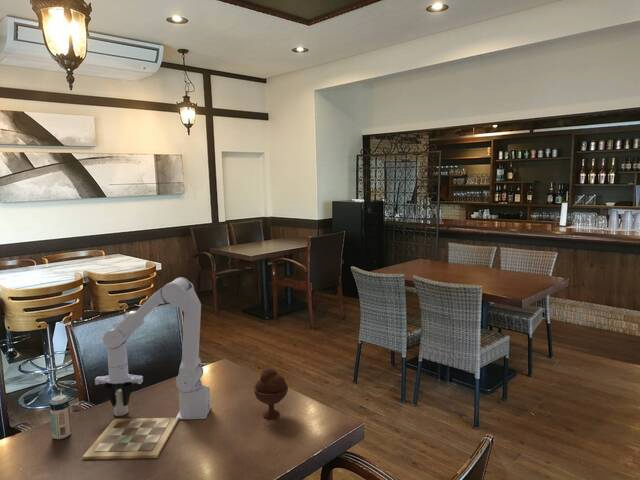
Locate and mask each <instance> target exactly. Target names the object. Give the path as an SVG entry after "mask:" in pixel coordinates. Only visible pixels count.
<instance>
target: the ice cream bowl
mask: <svg viewBox="0 0 640 480" xmlns="http://www.w3.org/2000/svg"><path fill="white" fill-rule="evenodd" d="M253 390H254V394H255V397H256V399H257V400H258V401H259V402H261V403H262V404H265V405H268V409H267V410H265V411H264V412H263V413H262V417H265V418H267V419H266V420H272V419H273V420H275V419H274V418H276V419H278V418H279V417H280V416H281V414H280V412H279V410H276V409H275V405H276V404H279V403H280V402H281V401H282V400H283V399H284V398H285V397H286V395H287V394H288V391H289V386H288V384H287V382H286V380H285V378H284V376H283V375H281V374H278V372H277V371H276V369H274V368H272V367H269V368H265V369H263V370H262V372H261V373H260V376H259V380H257V381H256V382H255V385H253ZM279 415H280V416H279ZM278 416H279V417H278ZM277 417H278V418H277ZM265 418H264V419H265Z"/></svg>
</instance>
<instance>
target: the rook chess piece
mask: <svg viewBox="0 0 640 480" xmlns="http://www.w3.org/2000/svg"><path fill="white" fill-rule="evenodd" d="M114 394H115V395H116V405H115V406H114V408H113V415H114V416H116V417H123V416H125V415H127V414H128V413H129V406H128V405H127V406H124V401H123V393H122V389H121V387H120V388H117V389H116V391H115V393H114Z"/></svg>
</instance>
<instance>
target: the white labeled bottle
mask: <svg viewBox="0 0 640 480" xmlns="http://www.w3.org/2000/svg"><path fill="white" fill-rule="evenodd" d="M49 411H50V412H49V413H50V423H51V434H52V435H51V436H52V438H53V439H55V440H64V439H65V438H68V436H70V435H71V434H72V426H71V425H72V424H71V414H70V402H69V397H68V396H67V395H66V394H62V393H61V394H56V395H55V396H52V397H51V399H50V401H49Z"/></svg>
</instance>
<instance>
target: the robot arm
mask: <svg viewBox="0 0 640 480" xmlns="http://www.w3.org/2000/svg"><path fill="white" fill-rule="evenodd" d="M194 287H195V286H194V284H193V283H192V282H191V281H189V280H188V279H187V278H186V277H183V276H181V277H180V276H179V277H177V278H175V279H174V280H173V281H171V282H168V283H166V284H165V285H164V286H163V287H161V288H159V289H158V290H156V291H155V292H154V293H153V294H152V295H151V296H150V297H149V298H148V299H147V300H146V301H145V302H144V303H143V304H142V305H141V306H140V307H138V309H137V310H131V311H129V312H128V311H127V312H125V313H123V315H122V317H123V318H121V319H120V320H119V322H115V323H114V324H113V325H112V326H113V327H112V328H111V329H109V330H107V331H106V332H105V333H104V335H103V337H102V342H103V344H104V346H105V347H106V349H107V350H106V351H107V365H108V366H107V367H108V375H102V376H96V378H95V379H94V385H96V386H98V385H101V384H102V385H104V386H103V391H105V393H106V394H107V396H108V398H109V400H110V403H111V405H112V407H115V406H116V395H115V394H114V393H115V391H116V389H117V390H118V384H122V386H120V390H121V389H122V393H123V401H124V406H127V407H128V405H129V403H130V395H131V393H132V390H133V388H134V386H135V384H138V385H141V384H142V383H143V382H144V376H143V375H137V374H136V375H135V374H130V373H129V363H128V349H127V347H128V345H127V341H128V340H129V338H130V337H131V336H132V335H133V334H134V333H135V332H137V330H139V329H141V328H140V327H142V326H143V325H144V323H145V317H147V316H148V315H149V314H150V313H151V312H152V311H153V310H154V309H156V308H157V307H158V306H159V305H162V304H166V303H168V304H171V305H172V306H175V307H177V308H179V309H180V310H181V311H182V312H183V322H182V323H183V325H182V326H183V327H182V328H183V329H182V351H181V352H182V353H181V362H180V365H179V369H178V375H177V376H176V378H175V386H176V388H177V389H178V404H179V411H178V413H177V415H176V416H175V418H179V420H205V419H207V417H208V415H209V412H210V410H211V408H212V406H211V389H210V387H209V386H207V385H206V386H205V385H203V383H202V381H201V378H202V377H203V375H204V368H203V366H202V360H201V358H200V339H201V338H200V336H201V334H200V333H201V316H202V315H201V312H202V311H201V310H202V303H201V300H200V299H199V297H198V295H197V293H196V291H195V288H194Z"/></svg>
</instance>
